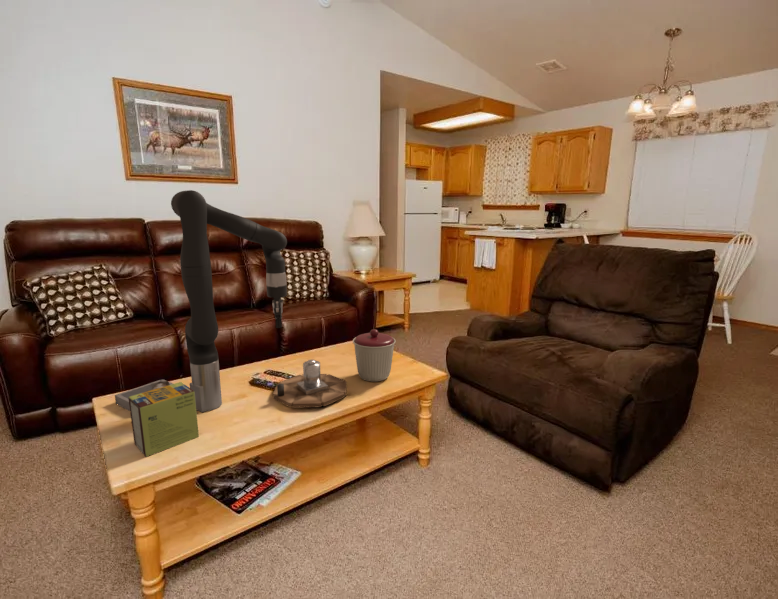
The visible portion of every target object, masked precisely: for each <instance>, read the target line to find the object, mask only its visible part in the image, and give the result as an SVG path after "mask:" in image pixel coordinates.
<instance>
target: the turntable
mask: <svg viewBox="0 0 778 599" xmlns="http://www.w3.org/2000/svg"><path fill="white" fill-rule="evenodd" d="M320 375H321V381H323V382H324V383H325V384H327V385H328V390H324V391H320V392H316V393H312V394H308V395H306V394H305V393H303V392H302V391H301V390H300V389H299V388H298V387H297V383H298V382H303V381H304V375H303V373H302V374H298V375H296V376H293V377H290V378H287V379H284V380H282V381H279V382H278V383H277V385H276V387H275V389H274V391H273V393H272V397H273V400H275V401H278V402H279V403H281V404H283V405H286V406H287V407H289V408H291V407H292V408H295V409H296V408H322V406H323V407H325V406H328V405H331V404H332V403H333V404H334V402H337V401H340V400H341V399H343V398H345V397H347V381H346V380H345V379H342V378H340V377H338V376H334V375H333V374H329V373H320Z"/></svg>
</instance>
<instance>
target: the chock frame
mask: <svg viewBox="0 0 778 599" xmlns="http://www.w3.org/2000/svg"><path fill="white" fill-rule="evenodd" d="M163 381H167V380H165V379H159V380H156V381H152V382H149V383H147V384H144V385H141V386H138V387H135V388H132V389H130V390H129V389H128V390H126V391H123V392H121V393H117V394H114V399H115V401H114V402H115V405H117V404H118V405H117V406H119V407H121V408H122V409H125V410H127V411H129V412H130V407H129V399H128V397H130V396H134V395H137V394H140V393H144V392H147V391H148V390H151V389H153V388H152V386H151V384H153V383H158V382H163ZM168 382H169V384H170V385H172V384H174V383H173V382H171V381H168Z"/></svg>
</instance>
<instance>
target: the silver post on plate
mask: <svg viewBox="0 0 778 599" xmlns="http://www.w3.org/2000/svg"><path fill="white" fill-rule="evenodd" d="M302 370H303V371H302V372H303V373H302V374H303V375H304V381H303V382H298V383H297V387H298V388H299V389H300V390H301V391H302V392H303V393H305V394H306V395H308V394H312V393H316V392H320V391H324V390H328V385H327V384H325V383H324V382H323V381H321V375H320V374H321V362H320V361H319V360H315V359H307V361H304V362H303V364H302Z"/></svg>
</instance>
